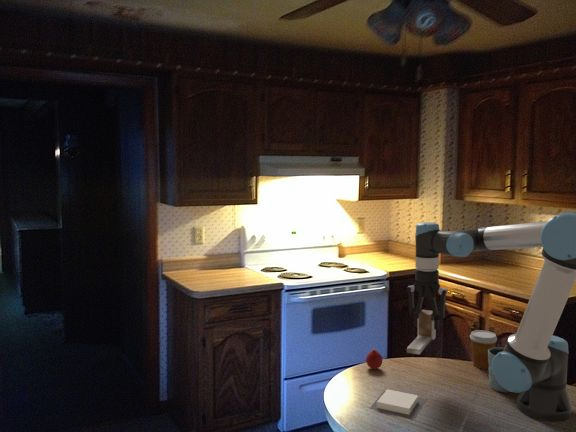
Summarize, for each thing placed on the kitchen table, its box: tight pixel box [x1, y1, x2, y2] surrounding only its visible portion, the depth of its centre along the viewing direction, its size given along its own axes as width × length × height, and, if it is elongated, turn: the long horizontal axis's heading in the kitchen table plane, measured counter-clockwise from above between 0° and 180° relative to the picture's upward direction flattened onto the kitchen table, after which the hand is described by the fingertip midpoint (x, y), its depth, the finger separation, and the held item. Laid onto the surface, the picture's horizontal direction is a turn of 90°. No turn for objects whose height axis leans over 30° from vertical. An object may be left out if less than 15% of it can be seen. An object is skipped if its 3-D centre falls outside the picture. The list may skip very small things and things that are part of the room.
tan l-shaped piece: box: [406, 309, 434, 356], centre depth 180 cm, size 4×19×9 cm, turn 152°
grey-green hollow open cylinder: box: [488, 346, 512, 393], centre depth 185 cm, size 10×10×12 cm
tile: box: [377, 388, 419, 415], centre depth 171 cm, size 10×2×10 cm
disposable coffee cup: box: [469, 329, 498, 370], centre depth 203 cm, size 10×10×12 cm
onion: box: [365, 348, 383, 371], centre depth 199 cm, size 6×6×8 cm
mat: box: [369, 390, 428, 419], centre depth 172 cm, size 14×14×1 cm
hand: (426, 337), depth 187 cm, fingers closed on tan l-shaped piece, 4 cm apart
